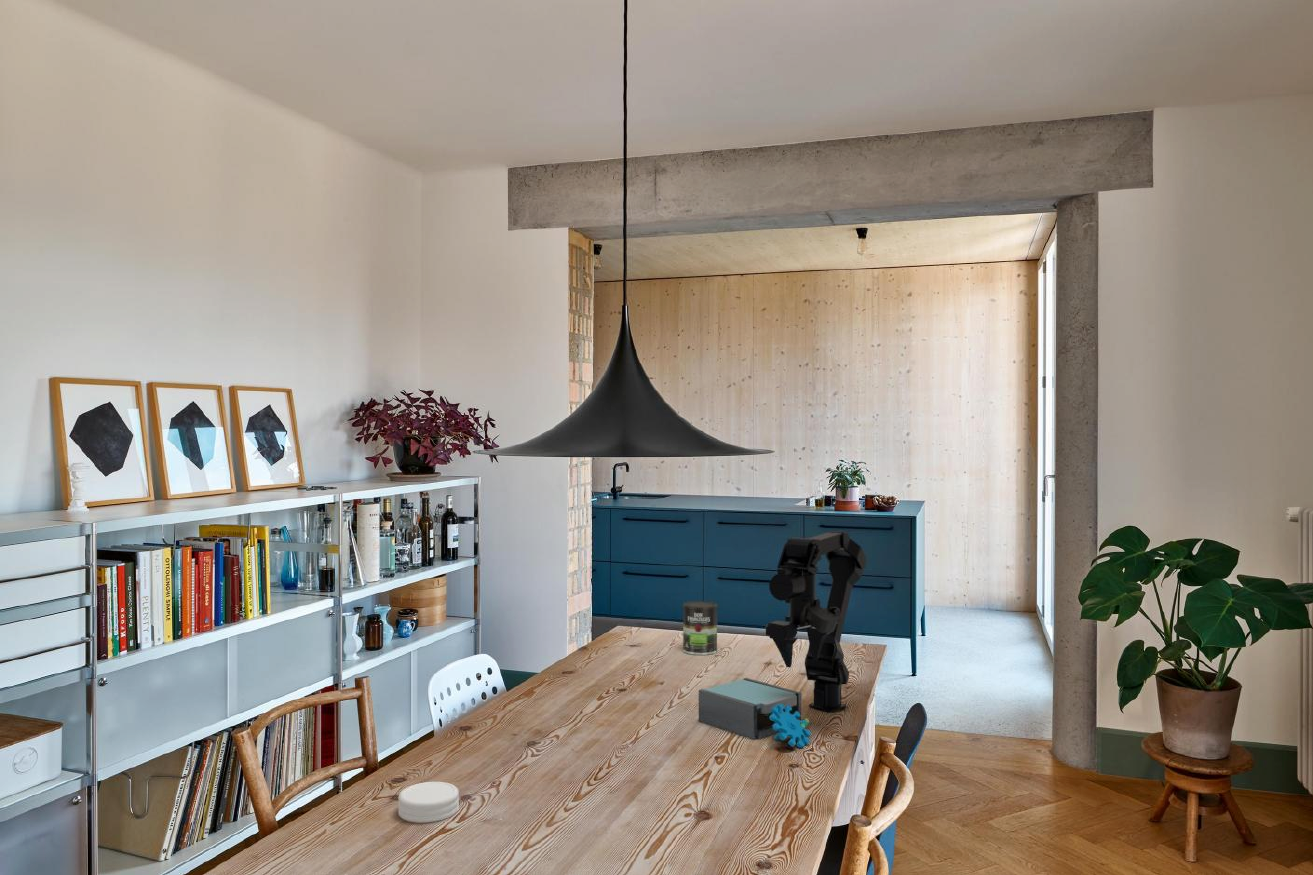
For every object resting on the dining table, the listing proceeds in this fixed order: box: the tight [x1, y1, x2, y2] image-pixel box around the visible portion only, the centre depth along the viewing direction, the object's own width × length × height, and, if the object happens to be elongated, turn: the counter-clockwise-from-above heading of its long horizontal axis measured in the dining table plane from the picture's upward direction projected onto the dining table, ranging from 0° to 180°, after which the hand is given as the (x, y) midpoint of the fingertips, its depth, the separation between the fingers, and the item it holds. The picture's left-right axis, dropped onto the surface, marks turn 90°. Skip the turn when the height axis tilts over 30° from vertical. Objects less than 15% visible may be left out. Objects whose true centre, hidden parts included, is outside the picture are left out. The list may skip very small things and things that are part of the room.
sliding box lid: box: [703, 678, 797, 715], centre depth 203 cm, size 13×18×2 cm
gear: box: [769, 704, 811, 749], centre depth 191 cm, size 11×6×10 cm
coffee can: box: [682, 600, 719, 656], centre depth 271 cm, size 10×10×14 cm
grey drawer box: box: [698, 677, 802, 741], centre depth 203 cm, size 16×17×7 cm
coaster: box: [397, 781, 460, 824], centre depth 155 cm, size 10×10×4 cm
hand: (802, 663), depth 204 cm, fingers open, 9 cm apart
